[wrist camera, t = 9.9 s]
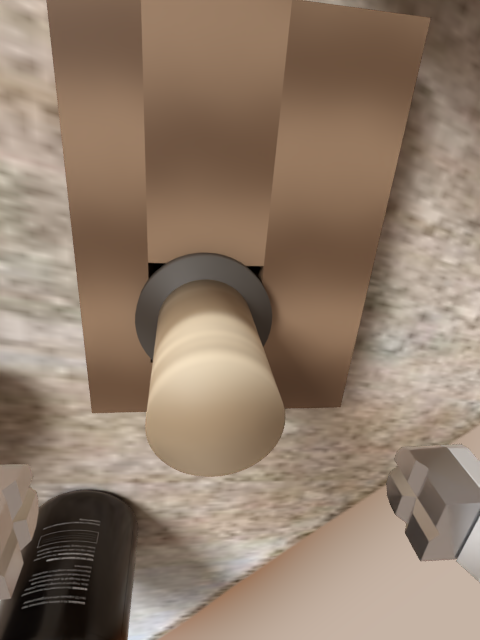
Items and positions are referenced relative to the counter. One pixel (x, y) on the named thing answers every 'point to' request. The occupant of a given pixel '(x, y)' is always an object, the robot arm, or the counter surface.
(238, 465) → the maple peg
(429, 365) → the counter surface
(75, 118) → the walnut board
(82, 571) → the supplement bottle
